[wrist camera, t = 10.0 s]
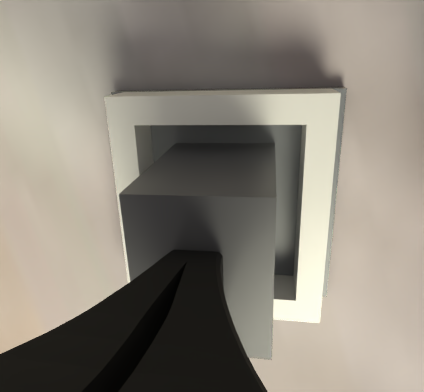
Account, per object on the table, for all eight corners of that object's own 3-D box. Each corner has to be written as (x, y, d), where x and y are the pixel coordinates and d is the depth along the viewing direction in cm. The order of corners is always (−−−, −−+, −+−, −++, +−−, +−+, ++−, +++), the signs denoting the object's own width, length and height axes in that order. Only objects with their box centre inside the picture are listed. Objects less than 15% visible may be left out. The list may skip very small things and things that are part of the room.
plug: (274, 143, 14) (276, 197, 9) (271, 286, 17) (270, 400, 11) (175, 143, 15) (119, 194, 9) (185, 281, 17) (144, 387, 12)
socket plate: (344, 87, 14) (357, 93, 12) (325, 290, 17) (332, 324, 15) (116, 91, 15) (90, 97, 13) (137, 278, 18) (120, 307, 16)
